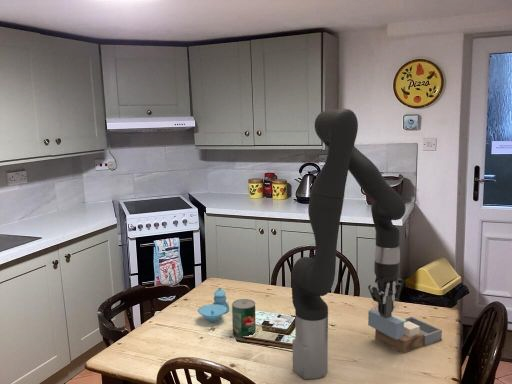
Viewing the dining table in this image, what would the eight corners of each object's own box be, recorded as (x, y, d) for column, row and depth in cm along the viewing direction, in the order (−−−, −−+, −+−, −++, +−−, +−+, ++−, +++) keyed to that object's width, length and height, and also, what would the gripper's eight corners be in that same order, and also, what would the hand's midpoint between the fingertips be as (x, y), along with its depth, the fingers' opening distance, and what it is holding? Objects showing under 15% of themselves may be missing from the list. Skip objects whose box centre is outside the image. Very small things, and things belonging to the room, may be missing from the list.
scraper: (396, 339, 143) (397, 302, 141) (368, 325, 153) (368, 289, 151) (403, 337, 144) (404, 299, 143) (375, 323, 155) (375, 288, 153)
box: (424, 346, 150) (425, 336, 149) (394, 331, 160) (395, 321, 160) (441, 340, 154) (441, 330, 153) (411, 325, 164) (411, 316, 164)
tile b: (396, 330, 152) (396, 323, 152) (386, 325, 156) (386, 318, 156) (406, 327, 154) (406, 320, 154) (395, 322, 158) (396, 315, 158)
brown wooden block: (403, 353, 145) (403, 341, 145) (375, 338, 156) (375, 327, 155) (423, 346, 150) (423, 334, 149) (394, 331, 160) (395, 320, 159)
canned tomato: (253, 340, 156) (252, 308, 154) (230, 338, 157) (229, 307, 156) (257, 329, 163) (257, 299, 162) (235, 328, 165) (235, 298, 163)
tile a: (409, 337, 148) (409, 329, 147) (398, 331, 151) (398, 324, 151) (419, 333, 150) (419, 326, 149) (408, 328, 154) (408, 321, 153)
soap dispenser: (222, 328, 165) (221, 304, 163) (194, 326, 167) (193, 302, 166) (235, 308, 182) (235, 286, 181) (210, 306, 184) (209, 284, 183)
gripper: (379, 266, 138) (378, 322, 141) (412, 258, 145) (410, 311, 148) (361, 260, 145) (360, 313, 148) (393, 253, 152) (392, 304, 155)
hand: (385, 312), depth 148 cm, fingers closed on scraper, 2 cm apart
